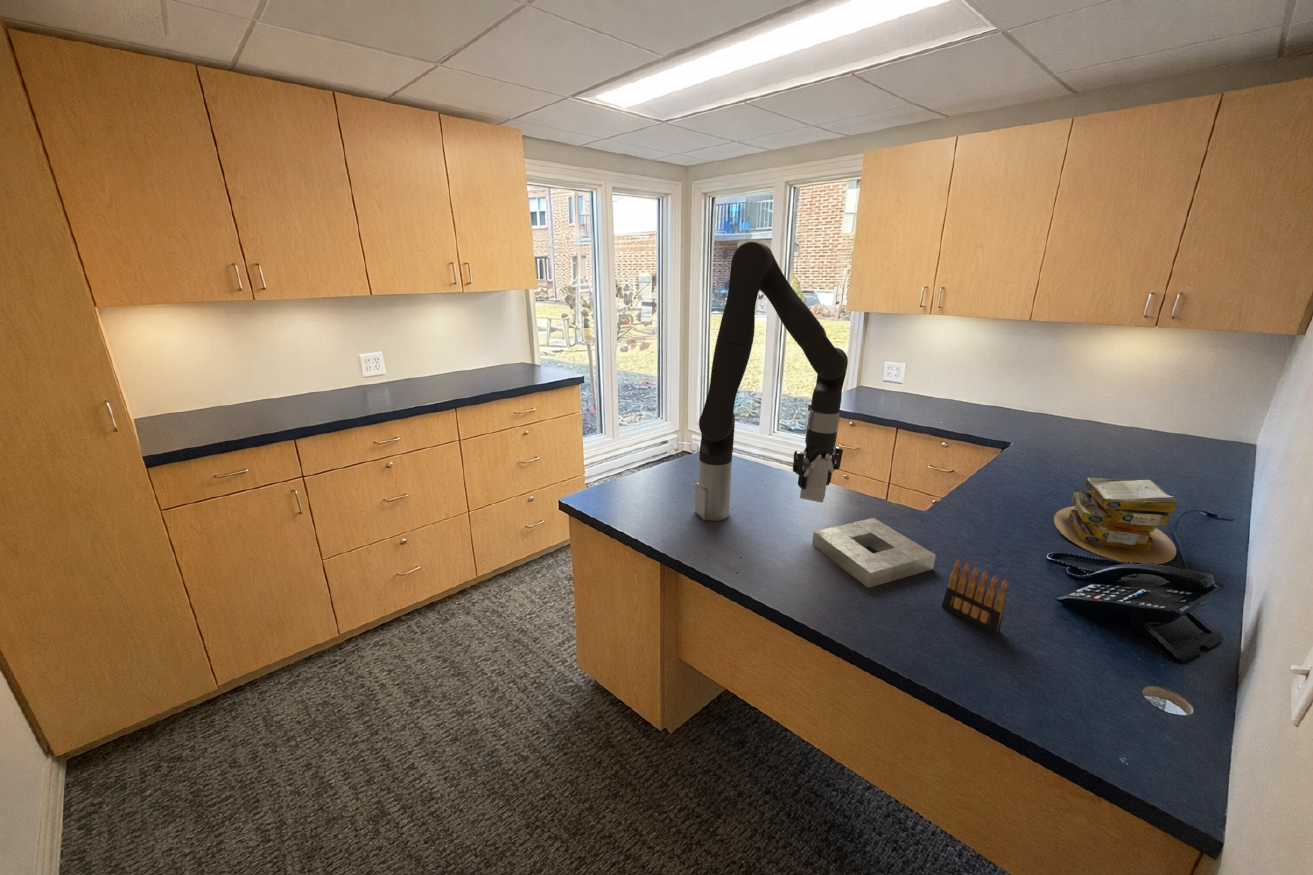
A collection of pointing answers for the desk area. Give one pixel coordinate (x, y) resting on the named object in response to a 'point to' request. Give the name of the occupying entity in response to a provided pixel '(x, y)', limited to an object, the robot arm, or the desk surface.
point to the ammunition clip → (975, 598)
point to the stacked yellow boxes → (1120, 520)
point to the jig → (868, 568)
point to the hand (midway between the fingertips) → (813, 485)
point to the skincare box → (816, 481)
